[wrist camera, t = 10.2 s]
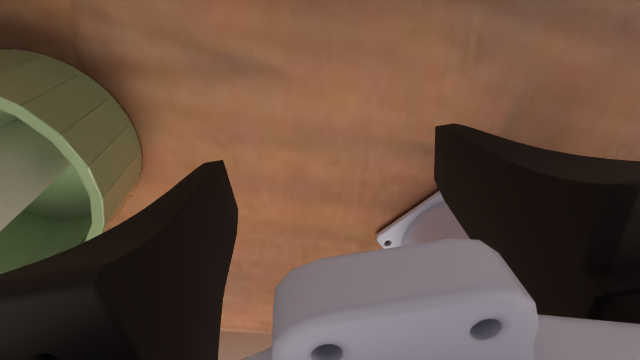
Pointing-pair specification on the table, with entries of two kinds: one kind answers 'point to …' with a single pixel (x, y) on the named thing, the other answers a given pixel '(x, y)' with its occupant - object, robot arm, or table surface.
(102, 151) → the holder
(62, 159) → the white canister
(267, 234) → the table surface
